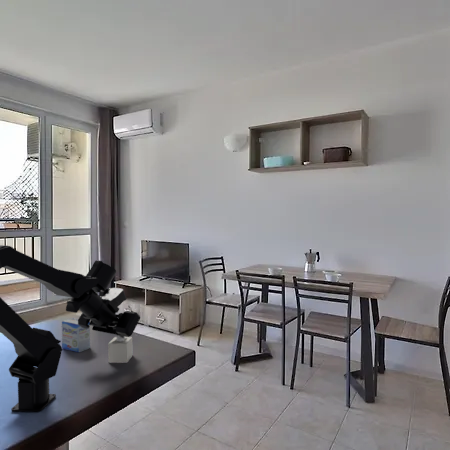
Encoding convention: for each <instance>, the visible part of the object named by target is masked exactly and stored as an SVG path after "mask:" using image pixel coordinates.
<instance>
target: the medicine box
mask: <svg viewBox="0 0 450 450" xmlns="http://www.w3.org/2000/svg"><path fill="white" fill-rule="evenodd" d="M78 319H79V318H74V317H73V318H67V319H65V320H62V321H61V347H62V350H67V351H72V352H75V353H82V352H84V351H87V350H88V349H90V348H91V325H89V323H90V322H89V323H88V325H89V326H90V327H89V328H88V329H87V328H82V327H81V326H79V325H78Z"/></svg>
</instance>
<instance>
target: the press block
mask: <svg viewBox="0 0 450 450" xmlns="http://www.w3.org/2000/svg"><path fill="white" fill-rule="evenodd" d="M124 337H125V336H124ZM107 347H108V348H107V350H108V351H107V352H108V363H109V364H128V362H129V361H130V360H131V358H132V357H133V356H132V355H133V337H132V336H129V337H125V342H117V336H114V337H113V338H112V339H111V340H110V341H109V342H108V343H107Z"/></svg>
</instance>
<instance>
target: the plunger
mask: <svg viewBox="0 0 450 450" xmlns="http://www.w3.org/2000/svg"><path fill="white" fill-rule="evenodd" d="M113 329H115V327H113ZM115 337H117V342H125V336H120V335H116V336H115Z"/></svg>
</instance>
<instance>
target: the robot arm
mask: <svg viewBox="0 0 450 450" xmlns="http://www.w3.org/2000/svg"><path fill="white" fill-rule="evenodd" d="M1 269H6V270H9V271H11V272H13V273H16V274H18V275H21V276H23V277H25V278H28V279H31V280H33V281H35V282H39V283H40V284H42V285H44V286H45V288H46V289H47V290H48V291H50V292H51V293H53V294H54V295H56V296H59V297H65V298H71V299H70V300H67V301H66V306H65V311H66V312H68V313H74V314H76V313H78V311H80V312H81V314H80V316H79V317H78V318H77V319H78V325H79V326H81V327H82V328H87V329H88V328H89V327H90V328H91V329H92V331H96V332H100V333H106V334H110V335H111V334H112V335H120V336H124V337H132V335H133V334H134V332H135V329H136V328H137V325H138V324H139V321H140V320H141V315H140V314H139V313H138V312H136V311H130V310H126V311H123V312H120V313H118V312H119V311H120V308H119V306H120V305H122V303H124V302H126V300H127V296H126V293H125V291H124V289H123V288H119V287H109V285H110V284H111V282H112V280H113V279H114V278H115V276H116V274H117V270H116V268H114V267H113V266H111V265H110V264H107V263H105V262H104V261H102V260H94V262H93V263H92V266H91V268H90V269H89V271H87V274H86V275H84V274H82V273H77V272H74V271H69V270H63V269H57V268H55V267H53V266H51V265H49V264H47V263H45V262H42V261H40V260H38V259H36V258H34V257H32V256H30V255H27V254H25V253H23V252H22V251H19V250H17V249H15V248H14V247H12V246H11V245H3V244H0V270H1ZM108 287H109V288H108ZM117 313H118V314H117ZM89 322H90V323H89ZM88 323H89V325H90V326H89V325H88ZM91 326H92V327H91ZM113 327H115V329H113ZM0 333H1V334H2V335H3V336H4V337H6V339H7V340H9V341H10V342H11V343H12V344H13V347H14V352H15V353H16V355H17V356H16V358H15V359H14V361H13V362H12V363H11V365H10V366H9V368H8V371H9V374H10V376H11V377H13V378H17V379H18V381H17V400H18V401H17V403H16V404H15V405H14V406H13V407H11V412H29V413H31V412H32V413H33V412H34V413H36V412H37V413H38V412H42V411H43V410H44V409H45V408H46V407H47V406H48V405H49V404H50V403H51V402H52V401H53V400H54V399H55V398H56V396H57V395H56V393H50V379H51V378H53V377H55V376H57V371H58V368H59V363H60V360H61V356H62V351H63V348H62V344H60V343H62V340H59V339H58V338H56V337H55V335H54V334H53V333H52V331H51V330H47V329H43V328H37V327H32V326H31V325H29V324H28V323H27V321H25V320H24V319H23V318H22V316H20V315H19V314H18V313H17V312H16V311H15V310H14V309H13V308H12V307H11V306H10V305H9V304H8V303H7V302H6V301H5V300H4V299H2V297H1V296H0Z"/></svg>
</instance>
